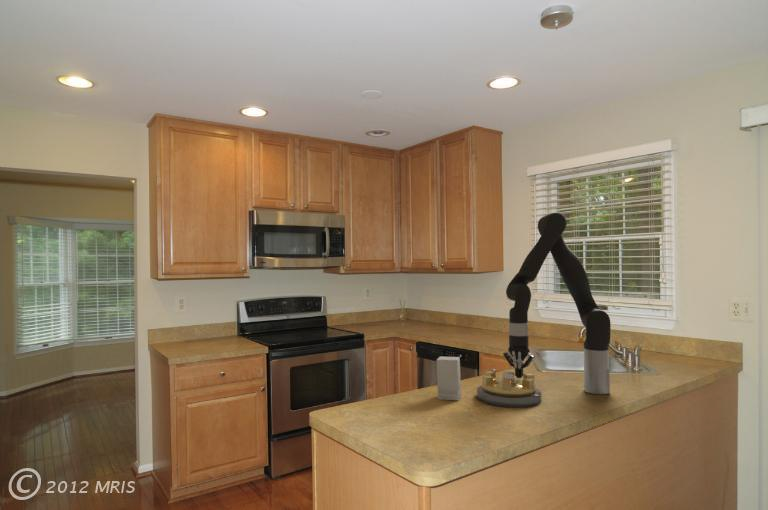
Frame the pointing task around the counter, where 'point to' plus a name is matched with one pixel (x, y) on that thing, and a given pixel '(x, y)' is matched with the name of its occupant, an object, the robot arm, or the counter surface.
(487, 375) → the brass lugged disc
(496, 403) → the housing
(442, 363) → the skincare box
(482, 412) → the counter surface
